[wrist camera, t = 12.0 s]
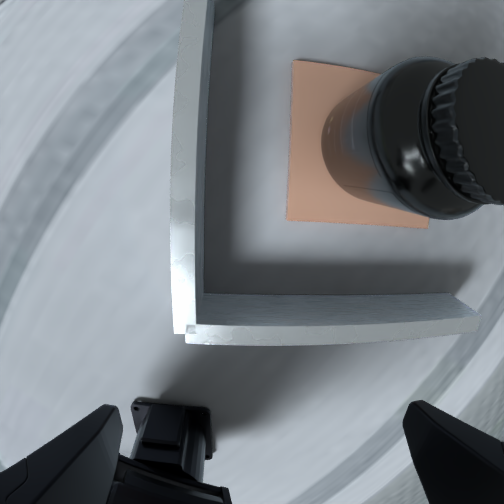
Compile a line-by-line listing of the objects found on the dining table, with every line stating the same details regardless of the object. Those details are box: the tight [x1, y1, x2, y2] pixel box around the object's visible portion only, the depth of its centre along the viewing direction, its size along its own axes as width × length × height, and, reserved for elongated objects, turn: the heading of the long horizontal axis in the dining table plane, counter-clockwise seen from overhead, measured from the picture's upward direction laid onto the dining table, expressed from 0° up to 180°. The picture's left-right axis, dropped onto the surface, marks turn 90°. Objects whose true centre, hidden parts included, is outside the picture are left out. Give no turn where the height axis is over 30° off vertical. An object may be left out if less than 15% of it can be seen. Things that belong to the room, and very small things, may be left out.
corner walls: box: [170, 0, 482, 346], centre depth 17 cm, size 20×20×4 cm
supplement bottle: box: [321, 57, 504, 220], centre depth 13 cm, size 7×7×12 cm
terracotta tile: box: [286, 60, 429, 229], centre depth 19 cm, size 10×10×1 cm
